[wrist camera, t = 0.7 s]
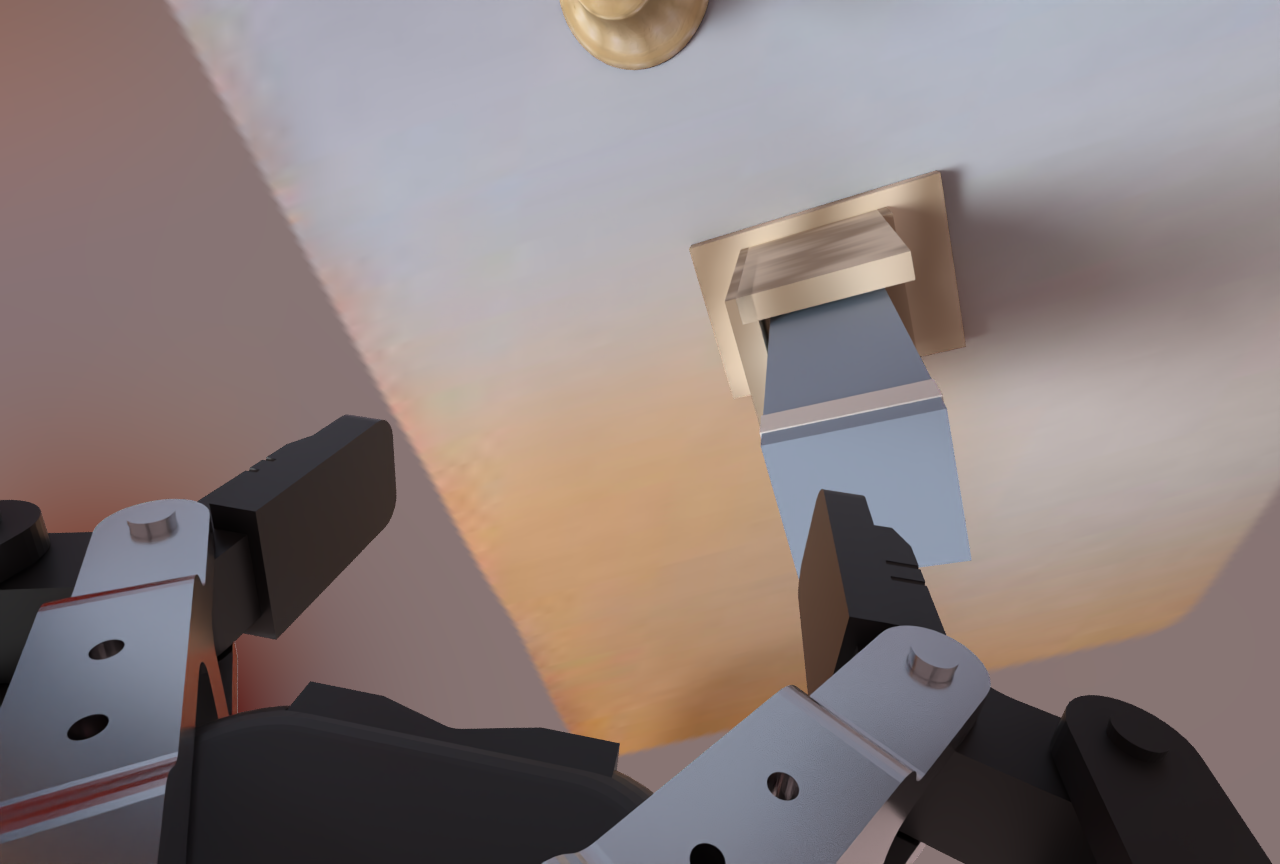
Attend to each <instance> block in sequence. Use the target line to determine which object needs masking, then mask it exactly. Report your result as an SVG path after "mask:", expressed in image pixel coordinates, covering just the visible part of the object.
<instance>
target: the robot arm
mask: <svg viewBox="0 0 1280 864" xmlns="http://www.w3.org/2000/svg"><path fill="white" fill-rule="evenodd" d="M395 503H396V482H395V465H394V449H393V434H392V429H391V426H390V424H389V423H388V422H387V421H385V420H380V419H373V418H367V417H360V416H354V415H344V416H342V417H340V418H339V419H337V420H335V421H334V422H332V423H331V424H329V425H328V426H326V427H325V428H323V429H322V430H320V431H319V432H317V433H316V434H314V435H313V436H310V437H307V438H304V439H301V440H298V441H295V442H292V443H289V444H286V445H285V446H283V447H282V448H280V449H279V450H277V451H276V452H274V453H272V454H271V455H269V456H268V457H266V460H261V461H260V462H258V463H257V464H255V465H254V466H252V467H250V470H249V471H244V472H243V473H241V474H239V475H238V476H237V477H235V478H233V479H232V480H230V481H229V482H227V483H225V484H224V485H223V486H221V487H219V488H218V489H216V490H214V491H213V492H211V493H210V494H208V495H207V496H205V497H203V498H202V499H200V500H199V501H197V502H196V501H192V500H185V499H165V500H157V501H151V502H145V503H141V504H137V505H134V506H131V507H128V508H126V509H123V510H120V511H118V512H116V513H114V514H112V515H110V516H109V517H107V518H105V519H104V520H103V521H101V522H100V523H99V524H98V525H97V526H96V527H95V529H94V531H93V532H80V533H79V532H78V533H47V529H46V526H45V523H44V520H43V517H42V513H41V510H40V509H39V507H38V506H36V505H35V504H32V503H30V502H26V501H18V500H0V864H913V863H914V862H915V860H916V859H917V857H918V855H919V854H920V853H921V852H922V850H923V849H924V847H925V846H926V845H929V846H931V847H933V848H935V849H936V850H938V851H940V852H942V853H945V854H946V855H949V856H950V857H952V858H954V859H957V860H958V861H961V862H963V863H965V864H1272V863H1271V861H1270V860H1269V858H1268V857H1267V855H1266V854H1265V852H1264V851H1263V849H1262V848H1261V846H1260V845H1259V843H1258V842H1257V840H1256V839H1255V837H1254V836H1253V834H1252V833H1251V831H1250V830H1249V828H1248V827H1247V825H1246V824H1245V822H1244V821H1243V819H1242V818H1241V816H1240V815H1239V813H1238V812H1237V810H1236V809H1235V807H1234V806H1233V804H1232V802H1231V801H1230V799H1229V798H1228V796H1227V795H1226V794H1225V792H1224V790H1223V789H1222V787H1221V786H1220V784H1219V783H1218V781H1217V780H1216V778H1215V777H1214V775H1213V774H1212V772H1211V771H1210V770H1209V768H1208V766H1207V765H1206V764H1205V762H1204V760H1203V759H1202V758H1201V756H1200V755H1199V753H1198V752H1197V751H1196V750H1195V748H1194V747H1193V746H1192V745H1191V744H1190V743H1189V742H1188V741H1187V740H1186V739H1185V738H1184V737H1183V736H1181V735H1180V734H1179V733H1178V732H1177V731H1176V730H1174V729H1173V728H1172V727H1170V726H1169V725H1168V724H1166V723H1165V722H1163V721H1162V720H1160V719H1159V718H1157V717H1156V716H1154V715H1152V714H1150V713H1148V712H1146V711H1144V710H1143V709H1140V708H1138V707H1136V706H1134V705H1132V704H1129V703H1126V702H1123V701H1121V700H1117V699H1114V698H1109V697H1104V696H1097V695H1096V696H1095V695H1087V696H1080V697H1077V698H1075V699H1073V700H1072V701H1071V702H1069V704H1068V705H1067V707H1066V709H1065V711H1064V713H1063V716H1062V717H1061V718H1060V717H1058V716H1055V715H1052V714H1050V713H1048V712H1045V711H1043V710H1040V709H1038V708H1035V707H1032V706H1030V705H1028V704H1025V703H1022V702H1020V701H1017V700H1015V699H1012V698H1010V697H1008V696H1006V695H1004V694H1002V693H1000V692H998V691H996V690H994V689H993V688H991V687H990V684H991V683H990V677H989V674H988V672H987V670H986V668H985V666H984V665H983V663H982V662H981V661H980V660H979V659H978V657H977V656H976V655H974V654H973V653H972V652H971V651H970V650H969V649H968V648H966V647H965V646H964V645H962V644H961V643H959V642H957V641H956V640H954V639H952V638H950V637H948V636H946V633H945V631H944V628H943V626H942V623H941V621H940V618H939V616H938V613H937V611H936V608H935V606H934V603H933V601H932V598H931V595H930V593H929V590H928V588H927V586H925V580H924V578H923V575H922V573H921V570H920V569H918V567H919V565H918V563H917V560H916V557H915V555H914V552H913V550H912V547H911V546H910V545H909V544H908V543H907V542H906V541H905V540H904V539H903V538H902V537H901V536H900V535H899V534H898V533H897V532H896V531H895V530H894V529H893V528H890V527H884V526H877V525H874V523H873V520H872V517H871V513H870V510H869V507H868V504H867V501H866V498H865V496H863V495H857V494H851V493H844V492H838V491H832V490H825V489H821V490H820V491H819V493H818V496H817V499H816V503H815V507H814V512H813V516H812V520H811V525H810V529H809V533H808V538H807V542H806V546H805V551H804V555H803V559H802V564H801V569H800V576H799V587H798V599H799V609H800V619H801V629H802V639H803V649H804V659H805V669H806V679H807V689H808V695H807V694H806V693H805V692H803V691H802V690H800V689H799V688H798V687H796V686H794V685H789V686H786V687H784V688H783V689H781V690H780V691H778V692H777V693H776V694H775V695H773V696H772V697H771V698H770V699H768V700H767V701H766V702H765V703H764V704H762V705H761V706H760V707H759V708H757V709H756V710H755V711H754V712H753V713H751V714H750V715H749V716H748V717H747V718H745V719H744V720H743V721H742V722H740V723H739V724H738V725H737V726H736V727H734V728H733V729H732V730H731V731H729V732H728V733H727V734H726V735H725V736H723V737H722V738H721V739H720V740H719V741H717V742H716V743H715V744H714V745H713V746H711V747H710V748H709V749H708V750H706V751H705V752H704V753H703V754H702V755H700V756H699V757H698V758H697V759H695V760H694V761H693V762H692V763H691V764H689V765H688V766H687V767H686V768H684V769H683V770H682V771H681V772H680V773H678V774H677V775H676V776H675V777H673V778H672V779H671V780H670V781H669V782H667V783H666V784H665V785H664V786H662V787H661V788H660V789H659V790H658V791H656V792H655V793H653V792H651V791H650V790H649V789H648V788H646V787H645V786H643V785H642V784H640V783H638V782H637V781H635V780H633V779H632V778H630V777H629V776H626V775H624V774H622V773H620V772H618V771H617V762H618V754H619V745H620V743H615V742H610V741H605V740H600V739H595V738H590V737H585V736H580V735H575V734H570V733H565V732H560V731H555V730H550V729H545V728H493V729H492V728H490V729H455V728H450V727H447V726H445V725H442V724H440V723H438V722H436V721H434V720H432V719H430V718H428V717H426V716H424V715H422V714H420V713H418V712H415V711H413V710H411V709H409V708H407V707H405V706H403V705H401V704H399V703H397V702H395V701H393V700H391V699H388V698H386V697H384V696H380V695H375V694H370V693H366V692H361V691H356V690H351V689H346V688H340V687H335V686H330V685H326V684H321V683H316V682H310V683H309V684H308V685H307V686H306V687H305V689H304V690H303V691H302V692H301V693H300V695H299V696H298V697H297V698H296V700H295V701H294V702H293V703H292V704H291V706H277V707H268V708H261V709H256V710H252V711H246V712H241V713H237V711H238V657H237V651H236V646H235V641H236V640H237V639H238V638H239V637H240V636H241V635H242V634H243V633H245V634H250V635H255V636H260V637H265V638H270V639H277V638H278V637H279V636H280V635H281V634H282V633H283V632H284V631H285V630H286V629H287V628H288V627H289V626H290V625H291V624H292V623H293V622H294V621H295V620H296V619H297V618H298V617H299V616H300V614H301V613H302V612H303V611H304V610H305V609H306V608H307V607H308V606H309V605H310V604H311V603H312V602H313V601H314V600H315V599H316V598H317V597H318V596H319V595H320V594H321V593H322V592H323V591H324V590H325V589H326V588H327V587H328V586H329V585H330V584H331V583H332V581H333V580H334V579H335V578H336V577H337V576H338V575H339V574H340V573H341V572H342V571H343V570H344V569H345V568H346V567H347V566H348V565H349V564H350V563H351V562H352V561H353V560H354V559H355V558H356V557H357V556H358V555H359V554H360V553H361V552H362V550H363V549H364V548H365V547H366V546H367V545H368V544H369V543H370V542H371V541H372V540H373V539H374V538H375V537H376V536H377V535H378V534H379V533H380V532H381V531H382V530H383V529H384V528H385V527H386V525H387V524H388V523H389V521H390V519H391V517H392V514H393V511H394V508H395Z"/></svg>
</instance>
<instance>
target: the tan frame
mask: <svg viewBox="0 0 1280 864" xmlns="http://www.w3.org/2000/svg"><path fill="white" fill-rule="evenodd" d="M689 250H690V254H691V257H692V261H693V264H694V267H695V271H696V274H697V278H698V281H699V284H700V288H701V291H702V295H703V298H704V301H705V305H706V308H707V312H708V315H709V318H710V322H711V325H712V329H713V332H714V335H715V339H716V342H717V346H718V349H719V352H720V356H721V359H722V362H723V366H724V369H725V373H726V376H727V379H728V383H729V386H730V390H731V393H732V396H733V399H736V398H741V397H745V396H750V395H751V397H752V400H753V404H754V408H755V411H756V415H757V418H758V422H759V425H760V422H761V416H762V415H763V410H764V397H765V383H766V370H767V357H768V344H769V330H770V317H774V316H778V315H782V314H786V313H789V312H793V311H797V310H801V309H805V308H809V307H813V306H816V305H820V304H824V303H828V302H832V301H836V300H839V299H843V298H847V297H851V296H855V295H859V294H863V293H866V292H870V291H874V290H878V289H882V288H885V289H886V291H887V293H888V295H889V297H890V299H891V301H892V303H893V305H894V307H895V309H896V311H897V313H898V315H899V317H900V319H901V320H902V322H903V324H904V326H905V328H906V330H907V332H908V334H909V336H910V338H911V340H912V342H913V344H914V346H915V348H916V350H917V352H918V354H919V355H920V357H922V356H926V355H931V354H935V353H940V352H944V351H949V350H953V349H957V348H962V347H966V344H965V337H964V331H963V324H962V317H961V310H960V303H959V296H958V289H957V283H956V276H955V269H954V262H953V255H952V248H951V241H950V235H949V228H948V221H947V214H946V207H945V200H944V193H943V187H942V180H941V173H940V172H938V171H933V172H930V173H926V174H923V175H920V176H917V177H913V178H910V179H907V180H903V181H900V182H897V183H894V184H890V185H887V186H884V187H880V188H877V189H874V190H871V191H867V192H864V193H861V194H858V195H854V196H851V197H848V198H844V199H841V200H838V201H835V202H831V203H828V204H825V205H821V206H818V207H815V208H812V209H808V210H805V211H802V212H799V213H795V214H792V215H789V216H785V217H782V218H779V219H776V220H772V221H769V222H766V223H762V224H759V225H756V226H753V227H749V228H746V229H743V230H740V231H736V232H733V233H730V234H726V235H723V236H720V237H717V238H713V239H710V240H707V241H703V242H700V243H697V244H694V245H691V247H690V248H689Z"/></svg>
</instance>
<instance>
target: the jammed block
mask: <svg viewBox="0 0 1280 864" xmlns="http://www.w3.org/2000/svg"><path fill="white" fill-rule="evenodd" d="M760 436H761V449H762V452H763V456H764V459H765V463H766V466H767V470H768V473H769V477H770V480H771V484H772V487H773V491H774V494H775V498H776V501H777V505H778V508H779V512H780V515H781V519H782V522H783V526H784V529H785V533H786V536H787V540H788V543H789V547H790V550H791V554H792V557H793V561H794V564H795V568H796V571H797V575H798V578H799V576H800V569H801V564H802V559H803V555H804V551H805V546H806V542H807V538H808V533H809V529H810V525H811V520H812V516H813V512H814V507H815V503H816V499H817V496H818V493H819V491H820V490H821V489H825V490H832V491H838V492H844V493H851V494H857V495H863V496H865V498H866V501H867V504H868V507H869V510H870V513H871V517H872V520H873V523H874V525H877V526H884V527H890V528H893V529H894V530H895V531H896V532H897V533H898V534H899V535H900V536H901V537H902V538H903V539H904V540H905V541H906V542H907V543H908V544H909V545H910V546H911V547H912V550H913V552H914V555H915V557H916V560H917V563H918V565H919V567H926V566H933V565H941V564H948V563H956V562H963V561H970V560H971V554H970V548H969V541H968V535H967V529H966V523H965V517H964V511H963V505H962V499H961V492H960V486H959V480H958V474H957V468H956V462H955V456H954V450H953V443H952V437H951V431H950V425H949V419H948V413H947V408H946V406H945V404H944V402H943V395H942V393H941V391H940V389H939V387H938V385H937V383H936V382H935V380H934V379H931V377H930V375H929V373H928V371H927V369H926V367H925V365H924V363H923V361H922V359H921V357H920V355H919V354H918V352H917V350H916V348H915V346H914V344H913V342H912V340H911V338H910V336H909V334H908V332H907V330H906V328H905V326H904V324H903V322H902V320H901V319H900V317H899V315H898V313H897V311H896V309H895V307H894V305H893V303H892V301H891V299H890V297H889V295H888V293H887V291H886V289H885V288H882V289H878V290H874V291H870V292H866V293H863V294H859V295H855V296H851V297H847V298H843V299H839V300H836V301H832V302H828V303H824V304H820V305H816V306H813V307H809V308H805V309H801V310H797V311H793V312H789V313H786V314H782V315H778V316H774V317H770V330H769V344H768V357H767V370H766V383H765V397H764V410H763V415H762V416H761V422H760Z"/></svg>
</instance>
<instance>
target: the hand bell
mask: <svg viewBox="0 0 1280 864" xmlns="http://www.w3.org/2000/svg"><path fill="white" fill-rule="evenodd" d="M708 2H709V0H560V4H561V7H562V11H563V14H564V17H565V20H566V22H567V24H568V26H569V28H570V29H571V31H572V33H573V35H574V36H575V38H576V39H577V40H578V41H579V43H580V44H581V45H582V46H583V47H584V48H585V49H586V50H587V51H588V52H589V53H590V54H591V55H593V56H594V57H595V58H597V59H599V60H600V61H602V62H604V63H606V64H608V65H610V66H613V67H617V68H621V69H627V70H638V69H646V68H650V67H653V66H656V65H658V64H660V63H663V62H665V61H667V60H668V59H670V58H671V57H673V56H674V55H675V54H677V53H678V52H679V51H681V50H682V49H683V48H684V47H685V46H686V44H687V43H688V42H689V40H690V39H691V38H692V37H693V35H694V34H695V32H696V30H697V29H698V27H699V25H700V23H701V21H702V19H703V17H704V14H705V12H706V9H707V6H708Z"/></svg>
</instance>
